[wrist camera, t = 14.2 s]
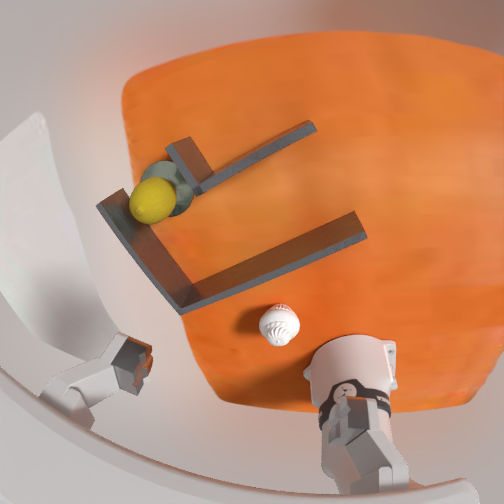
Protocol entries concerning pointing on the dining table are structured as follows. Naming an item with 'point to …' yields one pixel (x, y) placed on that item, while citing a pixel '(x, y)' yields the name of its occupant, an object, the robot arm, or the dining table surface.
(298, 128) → the rail corridor
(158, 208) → the lemon
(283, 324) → the white rounded piece
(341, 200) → the dining table surface
